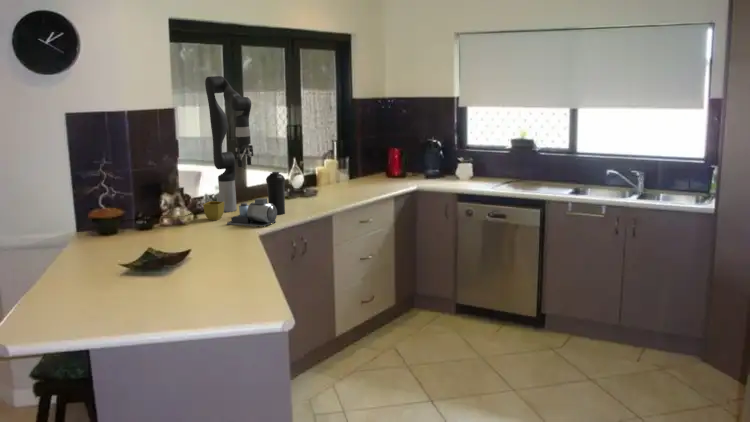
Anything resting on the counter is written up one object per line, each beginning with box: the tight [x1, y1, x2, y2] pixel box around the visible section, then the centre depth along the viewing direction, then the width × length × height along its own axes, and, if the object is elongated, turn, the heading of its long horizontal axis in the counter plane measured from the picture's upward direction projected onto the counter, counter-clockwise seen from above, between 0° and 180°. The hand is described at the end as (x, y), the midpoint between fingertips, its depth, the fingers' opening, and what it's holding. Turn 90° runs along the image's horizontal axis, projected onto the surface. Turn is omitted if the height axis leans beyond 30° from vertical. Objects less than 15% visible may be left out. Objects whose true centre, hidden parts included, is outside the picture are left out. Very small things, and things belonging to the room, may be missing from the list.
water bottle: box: [265, 171, 286, 216], centre depth 385 cm, size 10×10×23 cm
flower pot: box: [202, 200, 225, 221], centre depth 375 cm, size 9×9×9 cm
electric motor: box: [226, 197, 278, 227], centre depth 362 cm, size 24×12×13 cm, turn 67°
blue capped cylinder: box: [238, 202, 250, 217], centre depth 364 cm, size 5×5×9 cm
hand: (244, 165), depth 373 cm, fingers open, 8 cm apart
